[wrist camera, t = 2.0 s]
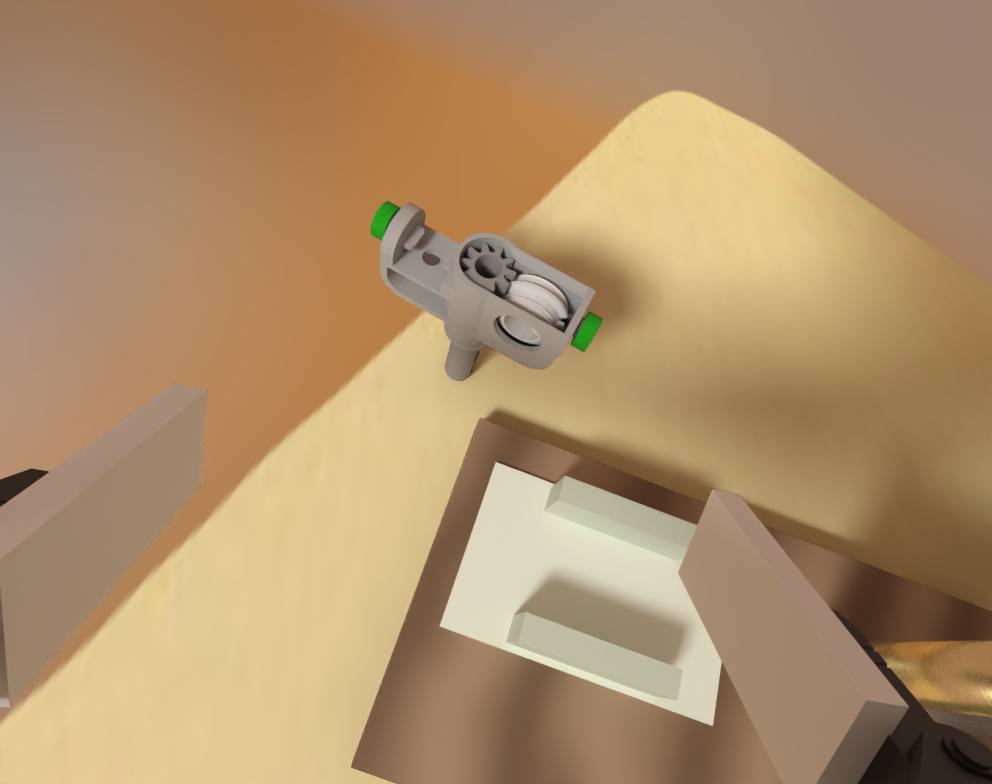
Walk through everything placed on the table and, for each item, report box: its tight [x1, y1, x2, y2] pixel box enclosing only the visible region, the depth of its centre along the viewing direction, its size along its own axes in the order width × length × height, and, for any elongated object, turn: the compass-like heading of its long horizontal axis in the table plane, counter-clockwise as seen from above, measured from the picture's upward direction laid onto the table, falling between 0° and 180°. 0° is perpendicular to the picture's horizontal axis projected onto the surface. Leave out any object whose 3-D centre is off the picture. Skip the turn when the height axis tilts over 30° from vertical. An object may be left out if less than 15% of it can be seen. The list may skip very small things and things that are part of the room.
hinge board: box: [351, 418, 992, 784], centre depth 23 cm, size 30×16×12 cm, turn 71°
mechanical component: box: [371, 201, 603, 381], centre depth 28 cm, size 3×10×10 cm, turn 62°
